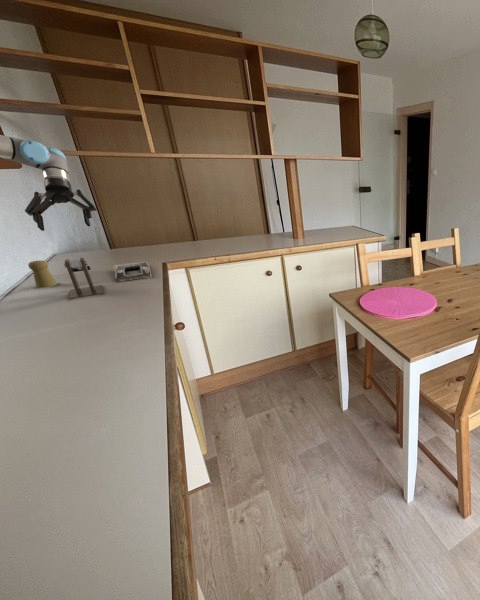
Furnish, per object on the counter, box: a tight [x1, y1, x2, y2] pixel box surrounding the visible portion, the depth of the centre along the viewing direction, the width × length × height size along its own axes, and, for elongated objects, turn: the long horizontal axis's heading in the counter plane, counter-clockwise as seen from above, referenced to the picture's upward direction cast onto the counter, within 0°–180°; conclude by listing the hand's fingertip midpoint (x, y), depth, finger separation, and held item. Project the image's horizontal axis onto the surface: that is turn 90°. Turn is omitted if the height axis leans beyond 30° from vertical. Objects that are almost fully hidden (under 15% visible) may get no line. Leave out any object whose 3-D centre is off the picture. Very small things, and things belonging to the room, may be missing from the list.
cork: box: [27, 260, 58, 289], centre depth 126 cm, size 6×6×11 cm
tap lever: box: [69, 259, 92, 273], centre depth 121 cm, size 13×6×2 cm, turn 43°
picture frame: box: [112, 261, 152, 282], centre depth 145 cm, size 13×25×3 cm, turn 41°
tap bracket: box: [63, 257, 103, 300], centre depth 119 cm, size 12×9×14 cm
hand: (65, 226), depth 124 cm, fingers open, 13 cm apart
